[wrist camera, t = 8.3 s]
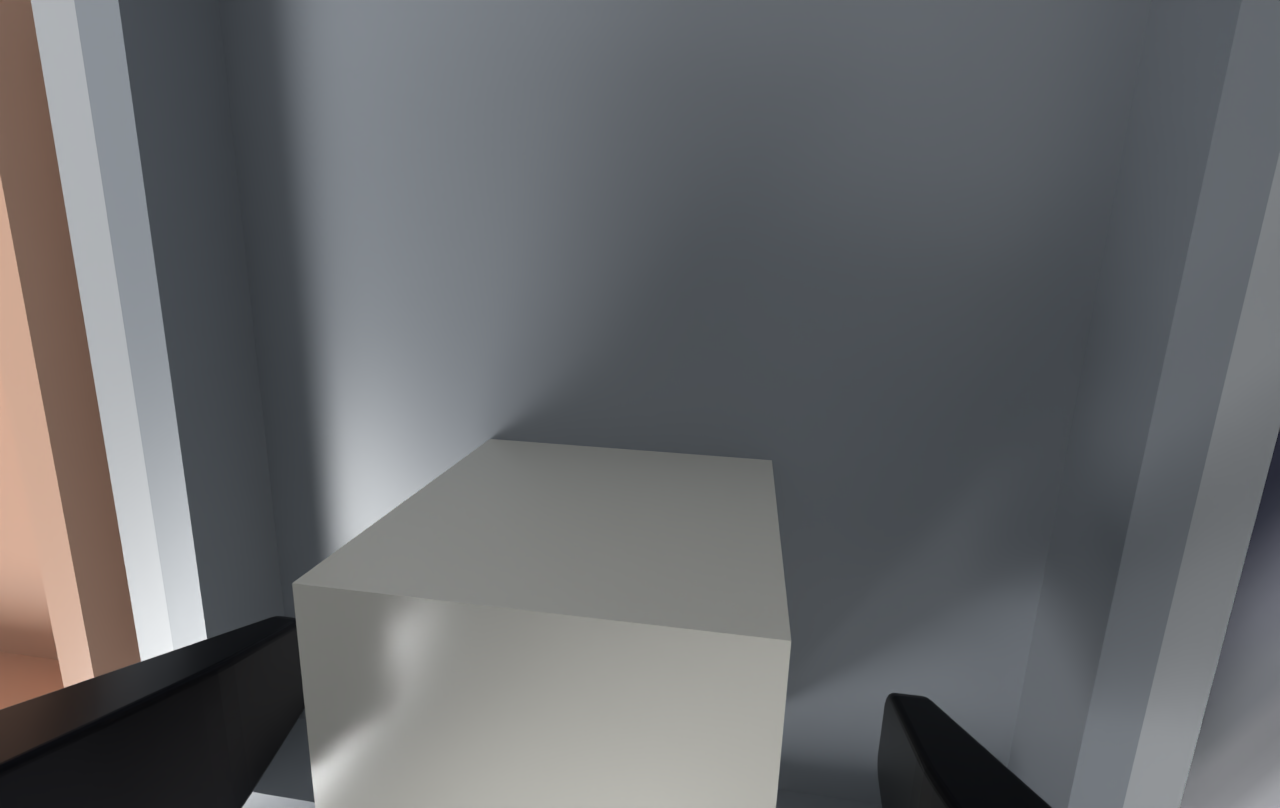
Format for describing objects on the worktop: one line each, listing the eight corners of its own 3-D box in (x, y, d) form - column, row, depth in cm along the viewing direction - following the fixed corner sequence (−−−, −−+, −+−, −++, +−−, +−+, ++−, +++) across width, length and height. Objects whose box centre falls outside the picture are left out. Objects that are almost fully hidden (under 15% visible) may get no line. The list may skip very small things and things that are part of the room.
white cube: (751, 715, 10) (754, 1051, 6) (496, 681, 11) (331, 962, 7) (771, 460, 9) (791, 640, 5) (490, 438, 10) (292, 583, 6)
